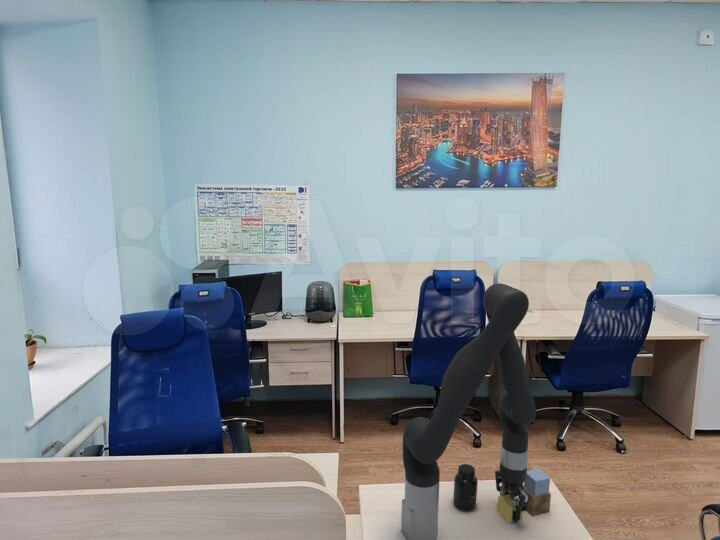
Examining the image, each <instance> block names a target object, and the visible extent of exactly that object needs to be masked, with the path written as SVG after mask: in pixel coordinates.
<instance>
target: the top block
mask: <svg viewBox="0 0 720 540" xmlns="http://www.w3.org/2000/svg"><path fill="white" fill-rule="evenodd" d="M517 497H518V496H516V497H514V498H517ZM516 505H518V502H516ZM512 512H513V505H512V502H511V501H510V495H509V494H507V495H503V496H500V495H499V496H498V500H497V513H498V514H499V515H500V516H501V517H502V518H503V519H504V520H505V521H506V523H511V522H514V521H513V520H512ZM523 516H524V512H521V515H520V520H523Z"/></svg>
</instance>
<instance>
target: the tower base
mask: <svg viewBox="0 0 720 540" xmlns="http://www.w3.org/2000/svg"><path fill="white" fill-rule="evenodd" d="M523 488H524V492H525V494H526V495H527V494H529V495H530V501H529V504H528V508H527V511H526V512H527V513H528V514H529V515H530V516H531V517H535V516H540V515H543V514H547V513H550V510H551V498H552V493H551V492H549V493H548V494H544V495H540V496H536V497H534V496H533V495H532V494H531V493H530V492H529V491H528V490H527V489H526V488H525V487H524V484H523Z"/></svg>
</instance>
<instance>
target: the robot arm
mask: <svg viewBox="0 0 720 540" xmlns="http://www.w3.org/2000/svg"><path fill="white" fill-rule="evenodd" d="M482 302H483V303H482V304H483V308H484V311H485V315H486V317H487V321H488V322H487V323H486V325H485V327H484V329H483V330H482V331H481V332H480V334H479V335H477V336H475V338H473V339H472V340H471V341H469V342H467V344H465V345H464V346H463V347H462V348H460V349H459V350H458V351H457V352H456V354H455V355H454V357H453V358H452V360H451V361H450V363H449V365H448V367H447V369H446V370H445V373H444V374H443V378H442V382H441V387H440V393H439V398H438V403H437V407H436V409H435V411H434V413H433V415H432V416H431V418H430V419H429V418H427V417H425V416H417V417H414V418H412V419H410V421H408V422H407V423H406V425H405V427H404V430H403V433H402V461H403V467H404V468H403V469H404V473H405V474H404V475H405V479H404V480H405V482H404V498H403V499H401V516H400V517H401V519H400V520H401V522H400V523H401V525H400V526H401V527H400V530H401V532H402V533H403V535H404V537H405V539H406V540H437V539H438V530H439V528H438V527H439V526H438V525H439V524H438V523H439V500H440V499H439V497H440V496H439V495H440V479H441V477H440V475H441V473H440V468H439V467H440V466H439V465H438V462H437V461H438V460H439V459H440V458H441V457H442V456H443V454H444V452H445V451H446V449H447V448H448V445H449V442H450V440H451V438H452V437H453V435H454V432H455V431H456V428H457V426H458V423H459V422H460V419H461V418H462V416H463V415H464V413H465V411H466V409H467V407H468V406H469V404H470V403H471V400H472V398H473V397H474V395H475V394H476V392H477V391H478V389H479V387H480V386H481V384H482V383H483V381H484V379H485V377H486V376H487V374H488V372H489V370H490V369H491V366H492V365H493V363H494V362H495V360H496V359H497V363H498V371H499V378H500V379H499V380H500V384H501V387H502V389H503V390H504V391H505V393H504V394H503V395H502V396H501V398H500V401H499V407H498V408H499V410H498V411H499V418H500V425H501V429H502V439H501V448H500V452H499V453H500V455H499V456H500V457H499V469H498V470H495V471H494V473H495V474H494V475H495V487H496V491H497V492H498V493H499V496H503V495H507V494H509V495H510V501H511V502H512V505H513V512H512V520H513V521H512V522H517V521H520V520H521V519H520V515H521V512H523V513H524V512H528V511H527V508H528V504H529V501H530V495H529V494H527V495H526V494H525V492H524V488H523V485H524V481H525V480H526V476H527V471H528V463H529V462H528V461H529V456H528V455H529V454H528V451H529V450H528V449H529V448H528V447H529V446H528V445H529V433H528V432H529V431H528V429H527V428H526V427H525V426H529V425H530V424H531V423H533V421H534V419H535V418H536V403H535V400H534V397H533V394H532V391H531V389H530V386H529V384H528V374H527V367H526V361H525V357H524V354H523V351H522V349H521V347H520V345H519V342H518V340H517V337H516V334H515V331H516V330H517V328H518V327H519V326H520V324H521V323H522V321H523V320H524V318H525V317H526V315H527V313H528V310H529V305H530V302H529V297H528V295H527V293H525V292H524V291H522V290H520V289H517V288H515V287H512V286H510V285H508V284H504V283H501V282H500V283H498V282H497V283H493V284H491V285H489V286H488V287H487V288H486V290H485V292H484V295H483V298H482ZM514 497H517V498H514ZM516 502H518V505H516Z"/></svg>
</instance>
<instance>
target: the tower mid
mask: <svg viewBox="0 0 720 540" xmlns="http://www.w3.org/2000/svg"><path fill="white" fill-rule="evenodd" d="M550 484H551V478H550V476H549V475H548V474H546V473H544V471H542V470H541V468H536V469H531V470H527V476H526V480H525V481H524V483H523V485H524V487H525V488H526V489H527V490H528V491H529V492H530V493H531V494H532V495H533V496H534V497H536V496H540V495H544V494H548V493H550Z"/></svg>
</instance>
